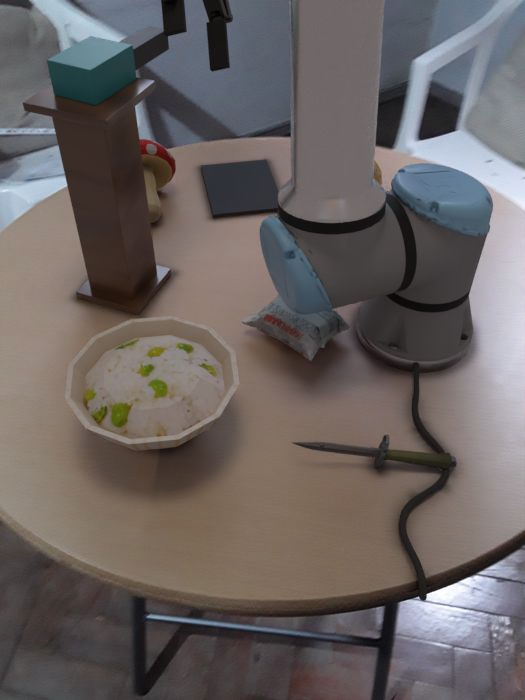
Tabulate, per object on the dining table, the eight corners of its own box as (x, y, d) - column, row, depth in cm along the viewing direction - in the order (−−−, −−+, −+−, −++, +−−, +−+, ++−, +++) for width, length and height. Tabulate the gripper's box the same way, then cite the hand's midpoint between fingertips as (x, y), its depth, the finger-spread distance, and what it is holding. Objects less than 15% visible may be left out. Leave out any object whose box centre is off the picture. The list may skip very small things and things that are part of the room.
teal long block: (96, 105, 76) (90, 70, 73) (53, 95, 78) (46, 59, 75) (179, 51, 87) (176, 18, 84) (140, 42, 89) (136, 10, 86)
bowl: (54, 483, 75) (33, 426, 68) (106, 359, 88) (93, 301, 81) (226, 504, 73) (223, 448, 66) (253, 374, 87) (252, 316, 80)
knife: (287, 461, 76) (295, 433, 72) (288, 446, 77) (295, 418, 73) (451, 480, 77) (466, 454, 73) (448, 465, 78) (463, 439, 75)
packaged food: (310, 373, 87) (312, 346, 83) (241, 332, 92) (240, 304, 89) (349, 338, 92) (353, 311, 88) (281, 301, 97) (283, 273, 94)
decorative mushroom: (155, 189, 102) (145, 113, 108) (98, 220, 106) (92, 145, 112) (197, 221, 111) (186, 150, 117) (144, 249, 115) (135, 178, 121)
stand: (139, 318, 94) (106, 120, 74) (71, 298, 97) (22, 102, 76) (176, 272, 101) (155, 80, 81) (112, 255, 104) (76, 65, 84)
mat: (284, 210, 113) (284, 207, 113) (213, 217, 112) (213, 214, 111) (266, 162, 124) (266, 159, 124) (201, 168, 123) (200, 165, 122)
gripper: (200, -60, 101) (212, 85, 102) (107, -169, 77) (123, 22, 78) (247, -74, 98) (259, 76, 99) (166, -191, 75) (182, 7, 76)
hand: (199, 52), depth 89 cm, fingers open, 13 cm apart
